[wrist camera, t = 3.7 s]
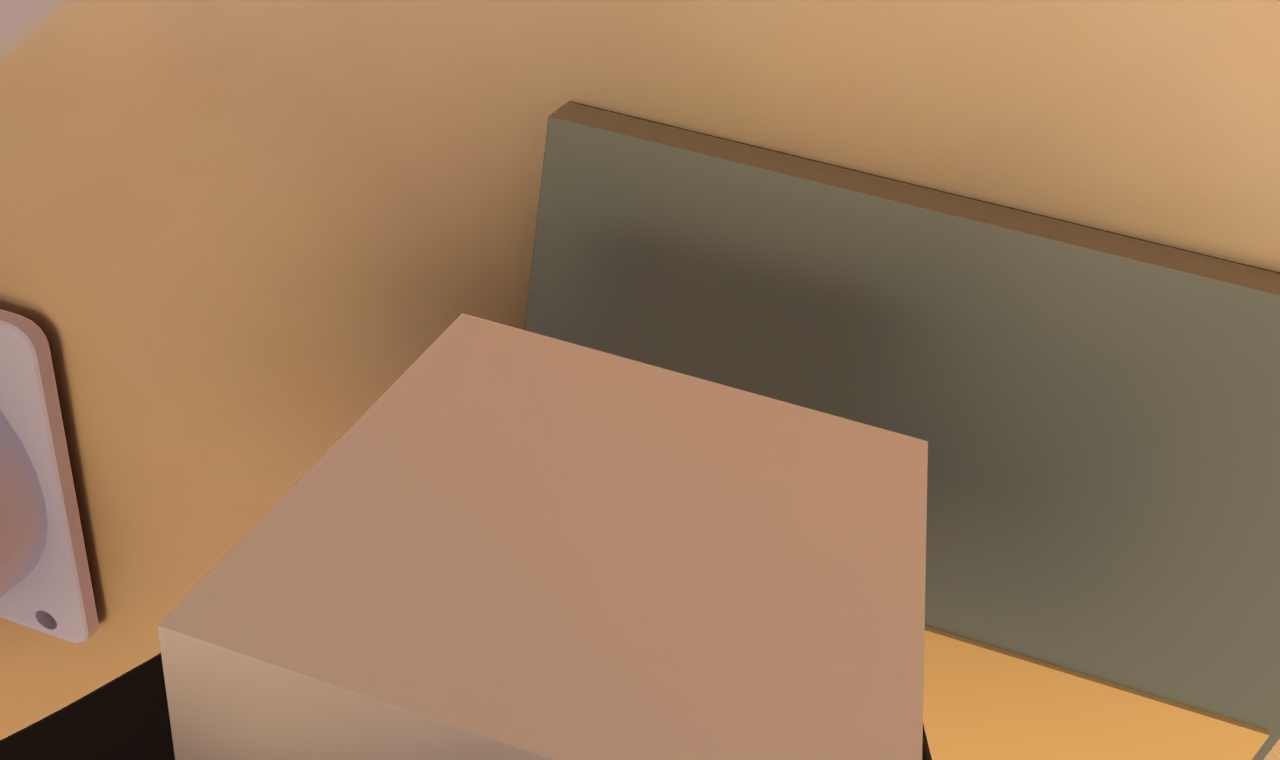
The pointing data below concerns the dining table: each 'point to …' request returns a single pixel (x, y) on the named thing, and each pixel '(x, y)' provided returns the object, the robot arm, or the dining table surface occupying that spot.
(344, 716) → the cream brick
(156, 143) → the dining table surface
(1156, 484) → the baseplate
